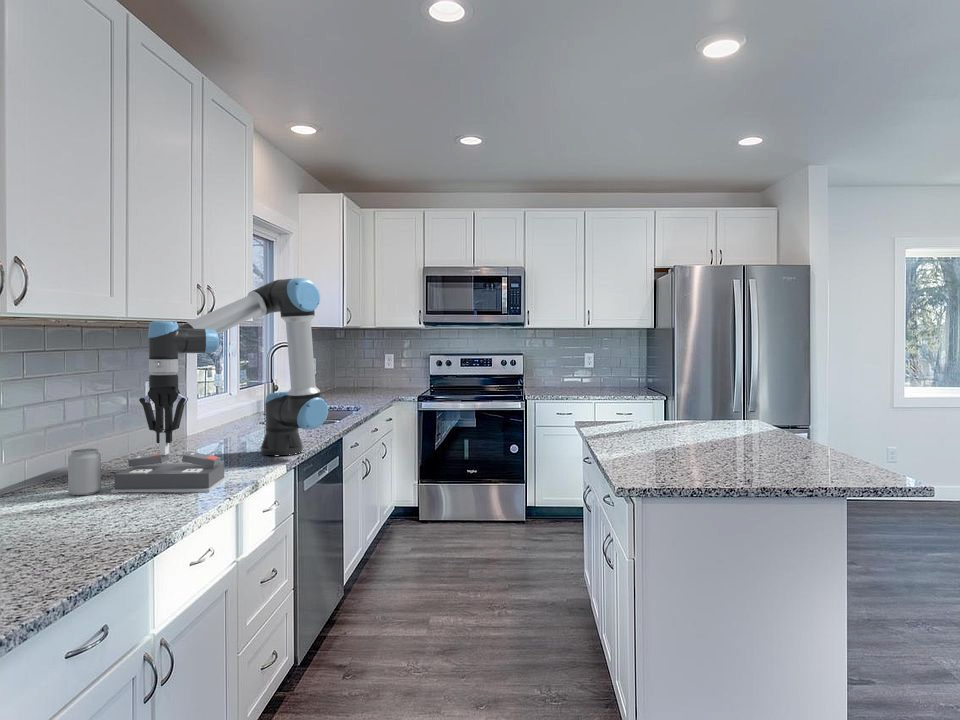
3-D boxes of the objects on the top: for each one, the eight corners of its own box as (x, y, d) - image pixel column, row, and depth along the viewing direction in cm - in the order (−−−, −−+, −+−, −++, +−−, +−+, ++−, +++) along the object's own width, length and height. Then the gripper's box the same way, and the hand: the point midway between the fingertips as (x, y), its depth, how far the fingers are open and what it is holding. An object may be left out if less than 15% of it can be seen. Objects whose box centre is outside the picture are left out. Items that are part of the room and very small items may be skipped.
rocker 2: (188, 457, 172) (190, 450, 172) (219, 463, 173) (220, 456, 173) (181, 461, 167) (183, 454, 167) (213, 467, 168) (214, 460, 168)
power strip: (137, 479, 173) (137, 462, 173) (227, 479, 176) (227, 461, 176) (111, 493, 158) (110, 473, 158) (209, 492, 161) (209, 473, 161)
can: (84, 497, 154) (84, 453, 153) (61, 495, 155) (60, 451, 155) (107, 490, 161) (107, 448, 160) (85, 488, 162) (85, 446, 162)
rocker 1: (137, 462, 170) (136, 455, 170) (169, 459, 171) (168, 452, 171) (128, 466, 165) (128, 459, 165) (161, 463, 166) (160, 455, 166)
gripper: (133, 374, 163) (134, 457, 164) (181, 374, 165) (182, 456, 165) (146, 373, 171) (147, 452, 171) (192, 373, 172) (192, 451, 173)
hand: (164, 454), depth 168 cm, fingers closed
